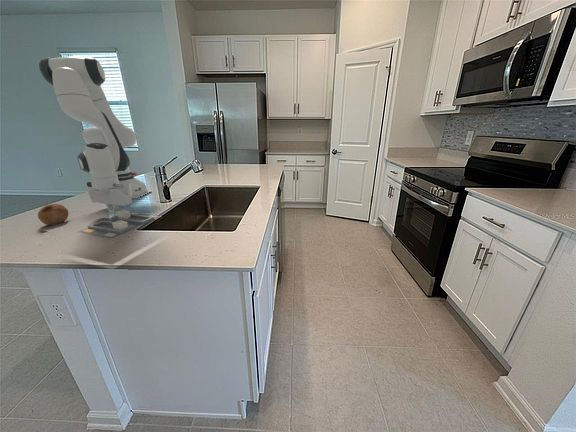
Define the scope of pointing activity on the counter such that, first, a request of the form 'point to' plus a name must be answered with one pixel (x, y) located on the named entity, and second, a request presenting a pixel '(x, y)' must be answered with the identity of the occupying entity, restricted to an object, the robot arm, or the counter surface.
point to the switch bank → (106, 227)
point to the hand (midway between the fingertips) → (114, 213)
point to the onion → (53, 214)
